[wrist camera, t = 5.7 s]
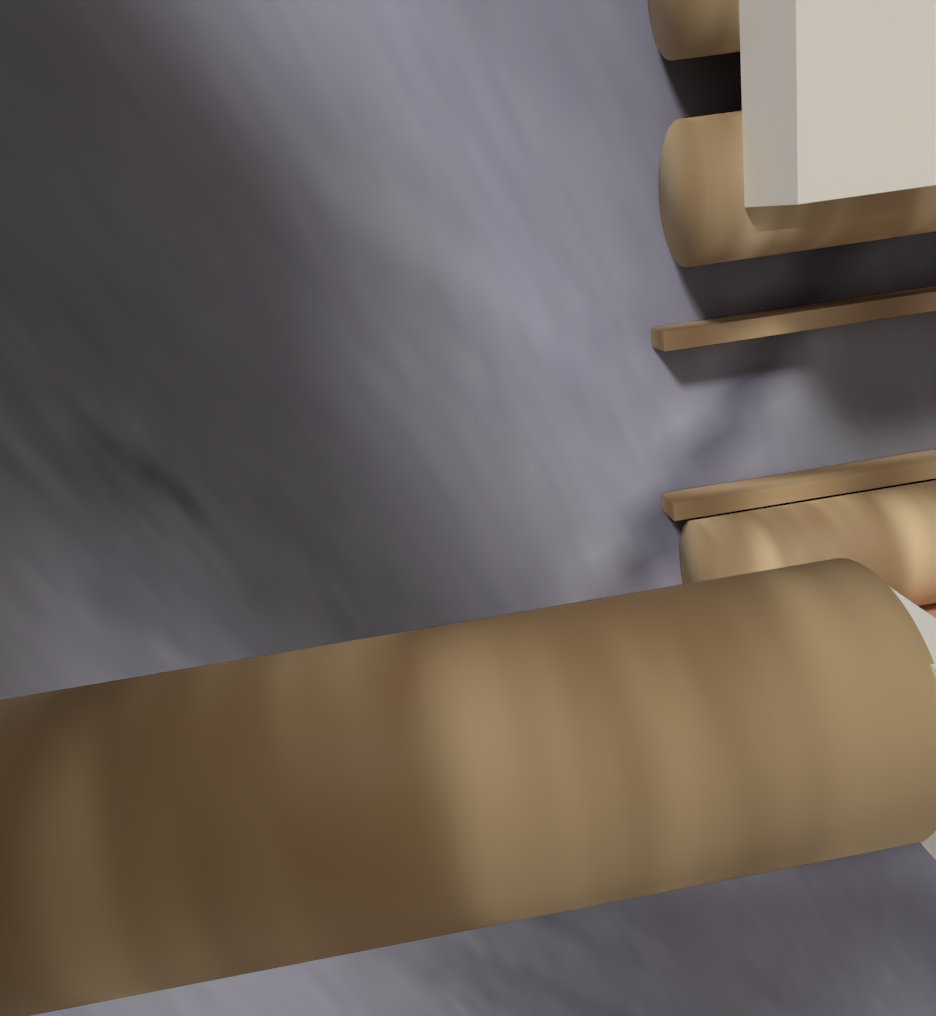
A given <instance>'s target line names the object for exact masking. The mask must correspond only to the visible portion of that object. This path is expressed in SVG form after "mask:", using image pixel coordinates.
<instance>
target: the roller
mask: <svg viewBox="0 0 936 1016" xmlns="http://www.w3.org/2000/svg"><path fill="white" fill-rule="evenodd" d="M930 664H934V662H933V659H932V656H931V654H930V652H929V650H928V647H927V645H926V643H925V641H924V639H923V637H922V635H921V633H920V631H919V629H918V627H917V626H916V624H915V622H914V620H913V619H912V617H911V615H910V614H909V612H908V611H907V609H906V608H905V606H904V605H903V603H902V602H901V600H900V599H899V598H898V597H897V595H896V594H895V593H894V592H893V590H892V589H891V588H890V587H889V586H888V585H887V584H886V583H885V582H884V581H883V580H882V579H881V578H880V577H879V576H878V575H877V574H876V573H874V572H873V571H872V570H870V569H869V568H868V567H866V566H864V565H862V564H861V563H859V562H856V561H854V560H851V559H846V558H836V559H830V560H824V561H818V562H812V563H806V564H800V565H794V566H788V567H783V568H777V569H771V570H765V571H759V572H753V573H747V574H741V575H735V576H730V577H724V578H718V579H712V580H706V581H700V582H694V583H688V584H682V585H676V586H671V587H665V588H659V589H653V590H647V591H641V592H635V593H629V594H623V595H617V596H612V597H606V598H600V599H594V600H588V601H582V602H576V603H570V604H564V605H559V606H553V607H547V608H541V609H535V610H529V611H523V612H517V613H511V614H505V615H500V616H494V617H488V618H482V619H476V620H470V621H464V622H458V623H452V624H446V625H441V626H435V627H429V628H423V629H417V630H411V631H405V632H399V633H393V634H387V635H382V636H376V637H370V638H364V639H358V640H352V641H346V642H340V643H334V644H329V645H323V646H317V647H311V648H305V649H299V650H293V651H287V652H281V653H275V654H270V655H264V656H258V657H252V658H246V659H240V660H234V661H228V662H222V663H216V664H211V665H205V666H199V667H193V668H187V669H181V670H175V671H169V672H163V673H158V674H152V675H146V676H140V677H134V678H128V679H122V680H116V681H110V682H104V683H99V684H93V685H87V686H81V687H75V688H69V689H63V690H57V691H51V692H45V693H40V694H34V695H28V696H22V697H16V698H10V699H4V700H0V1016H31V1015H36V1014H41V1013H46V1012H51V1011H56V1010H62V1009H67V1008H72V1007H77V1006H82V1005H87V1004H92V1003H98V1002H103V1001H108V1000H113V999H118V998H123V997H128V996H134V995H139V994H144V993H149V992H154V991H159V990H164V989H170V988H175V987H180V986H185V985H190V984H195V983H200V982H206V981H211V980H216V979H221V978H226V977H231V976H236V975H241V974H247V973H252V972H257V971H262V970H267V969H272V968H277V967H283V966H288V965H293V964H298V963H303V962H308V961H313V960H319V959H324V958H329V957H334V956H339V955H344V954H349V953H355V952H360V951H365V950H370V949H375V948H380V947H385V946H390V945H396V944H401V943H406V942H411V941H416V940H421V939H426V938H432V937H437V936H442V935H447V934H452V933H457V932H462V931H468V930H473V929H478V928H483V927H488V926H493V925H498V924H504V923H509V922H514V921H519V920H524V919H529V918H534V917H539V916H545V915H550V914H555V913H560V912H565V911H570V910H575V909H581V908H586V907H591V906H596V905H601V904H606V903H611V902H617V901H622V900H627V899H632V898H637V897H642V896H647V895H653V894H658V893H663V892H668V891H673V890H678V889H683V888H688V887H694V886H699V885H704V884H709V883H714V882H719V881H724V880H730V879H735V878H740V877H745V876H750V875H755V874H760V873H766V872H771V871H776V870H781V869H786V868H791V867H796V866H802V865H807V864H812V863H817V862H822V861H827V860H832V859H838V858H843V857H848V856H853V855H858V854H863V853H868V852H873V851H879V850H884V849H889V848H894V847H899V846H904V845H909V844H915V843H920V842H921V841H924V840H926V839H927V838H929V837H930V836H931V835H932V834H933V833H934V832H935V831H936V680H935V677H934V674H933V672H932V669H931V666H930Z"/></svg>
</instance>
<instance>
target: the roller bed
mask: <svg viewBox="0 0 936 1016" xmlns="http://www.w3.org/2000/svg"><path fill="white" fill-rule="evenodd" d="M648 9H649V17H650V23H651V28H652V32H653V36H654V40H655V42H656V45H657V47H658V49H659V51H660V53H661V54H662V56H663V57H664V58H665V59H667V60H671V61H672V60H679V59H687V58H695V57H703V56H711V55H718V54H726V53H734V52H740V24H739V0H648ZM659 205H660V214H661V221H662V226H663V231H664V235H665V239H666V242H667V245H668V247H669V250H670V252H671V254H672V256H673V258H674V259H675V261H676V262H677V263H678V264H679V265H680V266H682V267H693V266H700V265H707V264H714V263H721V262H728V261H735V260H742V259H749V258H756V257H763V256H770V255H776V254H783V253H790V252H797V251H804V250H811V249H818V248H825V247H832V246H839V245H846V244H852V243H859V242H866V241H873V240H880V239H887V238H894V237H901V236H908V235H915V234H922V233H929V232H935V231H936V185H933V186H925V187H918V188H911V189H904V190H897V191H890V192H883V193H876V194H869V195H862V196H854V197H847V198H840V199H833V200H826V201H819V202H812V203H805V204H798V205H779V206H761V207H745V204H744V168H743V132H742V111H735V112H728V113H720V114H713V115H705V116H698V117H690V118H683V119H677V120H675V121H674V122H673V123H672V124H671V125H670V127H669V129H668V131H667V133H666V136H665V139H664V142H663V146H662V151H661V157H660V165H659ZM931 311H936V286H930V287H923V288H916V289H910V290H903V291H896V292H890V293H883V294H876V295H869V296H863V297H856V298H849V299H843V300H836V301H829V302H822V303H816V304H809V305H802V306H796V307H789V308H782V309H775V310H769V311H762V312H755V313H749V314H742V315H735V316H728V317H722V318H715V319H708V320H702V321H695V322H688V323H681V324H675V325H668V326H661V327H655V328H651V335H652V347H654V348H656V349H659V350H661V351H664V352H666V351H673V350H679V349H686V348H693V347H699V346H706V345H713V344H719V343H726V342H732V341H739V340H746V339H752V338H759V337H766V336H772V335H779V334H785V333H792V332H799V331H805V330H812V329H819V328H825V327H832V326H838V325H845V324H852V323H858V322H865V321H872V320H878V319H885V318H891V317H898V316H905V315H911V314H918V313H925V312H931ZM934 478H936V449H933V450H927V451H921V452H915V453H908V454H902V455H896V456H890V457H884V458H878V459H871V460H865V461H859V462H853V463H847V464H841V465H834V466H828V467H822V468H816V469H810V470H804V471H797V472H791V473H785V474H779V475H773V476H767V477H760V478H754V479H748V480H742V481H736V482H729V483H723V484H717V485H711V486H705V487H699V488H692V489H686V490H680V491H674V492H668V493H662V510H663V511H664V512H665V513H666V514H667V515H668V516H669V517H670V518H671V519H672V520H674V521H679V520H685V519H691V518H697V517H703V516H709V515H715V514H721V513H727V512H734V511H740V510H746V509H752V508H758V507H764V506H770V505H776V504H782V503H788V502H794V501H800V500H807V499H813V498H819V497H825V496H831V495H837V494H843V493H849V492H855V491H861V490H867V489H873V488H880V487H886V486H892V485H898V484H904V483H910V482H916V481H922V480H928V479H934ZM679 555H680V568H681V576H682V582H683V584H688V583H694V582H700V581H706V580H712V579H718V578H724V577H730V576H735V575H741V574H747V573H753V572H759V571H765V570H771V569H777V568H783V567H788V566H794V565H800V564H806V563H812V562H818V561H824V560H830V559H836V558H846V559H851V560H854V561H856V562H859V563H861V564H862V565H864V566H866V567H868V568H869V569H870V570H872V571H873V572H874V573H876V574H877V575H878V576H879V577H880V578H881V579H882V580H883V581H884V582H885V583H886V584H887V585H888V586H889V587H891V588H892V589H894V590H895V591H897V592H898V593H900V594H901V595H902V596H904V597H905V598H907V599H908V600H910V601H911V602H913V603H914V604H916V605H917V606H921V605H926V604H932V603H936V480H933V481H927V482H921V483H915V484H909V485H903V486H897V487H891V488H885V489H879V490H873V491H867V492H860V493H854V494H848V495H842V496H836V497H830V498H824V499H818V500H812V501H806V502H800V503H794V504H788V505H781V506H775V507H769V508H763V509H757V510H751V511H745V512H739V513H733V514H727V515H721V516H715V517H708V518H702V519H696V520H690V521H687V522H686V523H685V525H684V526H683V529H682V532H681V536H680V546H679Z"/></svg>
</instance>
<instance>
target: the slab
mask: <svg viewBox="0 0 936 1016" xmlns="http://www.w3.org/2000/svg"><path fill="white" fill-rule="evenodd" d="M739 24H740V60H741V96H742V132H743V168H744V204H745V207H761V206H779V205H798V204H805V203H812V202H819V201H826V200H833V199H840V198H847V197H854V196H862V195H869V194H876V193H883V192H890V191H897V190H904V189H911V188H918V187H925V186H933V185H936V0H739Z"/></svg>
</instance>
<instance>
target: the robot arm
mask: <svg viewBox="0 0 936 1016" xmlns="http://www.w3.org/2000/svg"><path fill="white" fill-rule="evenodd" d="M890 588H891V587H890ZM891 589H892V588H891ZM892 590H893V592H894V593H895V594H896V595H897V597H898V598H899V599H900V600H901V602H902V603H903V605H904V606H905V608H906V609H907V611H908V612H909V614H910V615H911V617H912V619H913V620H914V622H915V624H916V626H917V627H918V629H919V631H920V633H921V635H922V637H923V639H924V641H925V643H926V645H927V647H928V650H929V652H930V654H931V656H932V659H933V662H934V664H930V666H931V669H932V672H933V674H934V677H935V680H936V618H934V617H933V616H932V615H930V614H929V613H927V612H926V611H924V610H923V609H921V608H920V607H918V606H917V605H916V604H914V603H913V602H911V601H910V600H908V599H907V598H905V597H904V596H902V595H901V594H900V593H898V592H897V591H895V590H894V589H892ZM920 843H921V844H922V845H923V847H924V848H925V849H926V850H927V851H928V852H929V853H930V854H931V855H932V857H933V858H934V859H935V860H936V831H935V832H934V833H933V834H932V835H931V836H930V837H929V838H927V839H926V840H924V841H921V842H920Z"/></svg>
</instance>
